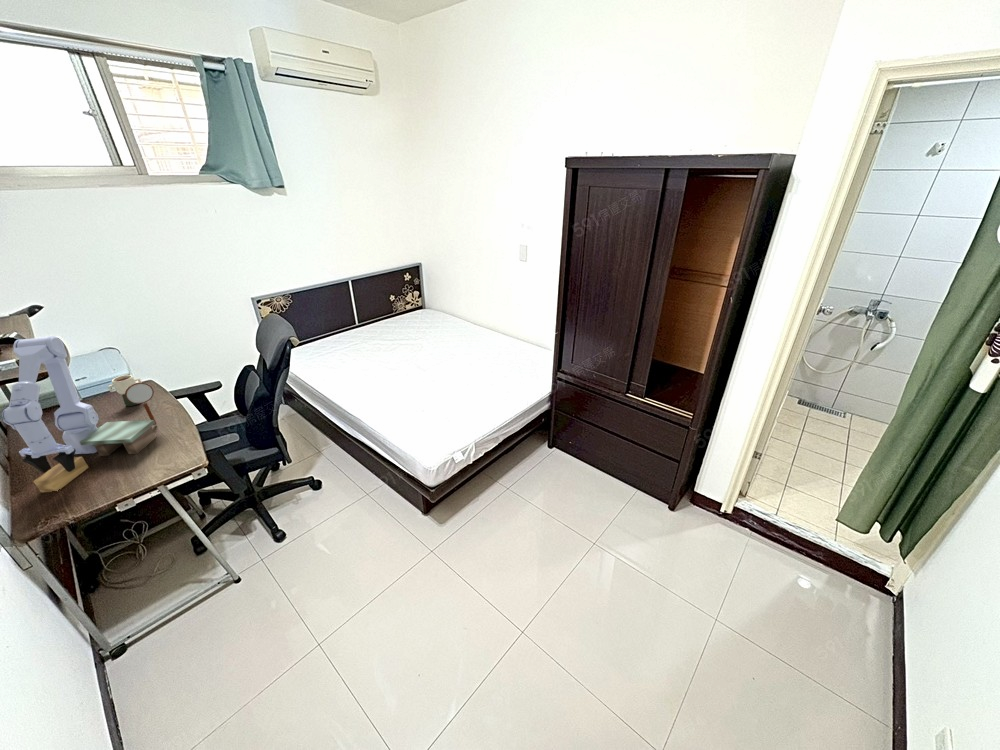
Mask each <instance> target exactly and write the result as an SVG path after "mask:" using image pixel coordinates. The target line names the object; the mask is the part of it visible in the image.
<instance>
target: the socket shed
mask: <svg viewBox="0 0 1000 750" xmlns="http://www.w3.org/2000/svg"><path fill="white" fill-rule="evenodd" d="M155 421H156V420H155ZM155 421H154V420H150V419H145V420H141V419H140V420H126V421H125V420H124V421H123V420H121V421H119V420H118V421H106V422H105V423H103V424H102V425H101V426H99V427H97V428H98V429H96V430H95V431H94V432H92V433H91V434H89V435H88V436H87V437H85V438H84V439H82V440H81V441H79V443H80V444H81V445H94V446H95V448H96V450H97V451H98V452H97V453H98V455H99V456H100V457H101V456H102V457H103V456H110V455H111V454H112V453H114V452H115V451H116V450H117V449H118V448H120V447H121V446H122V445H123V447H124V448H125V450H126V451H127V453H128V455H138V454H139V453H140V452H141V451H142V450H143V449H144V448H146V447H147V446H148V445H149V444H150V443H152V441H154V440H155V439H156V438H157V435H156V433H155V430H154V428H153V426H154V424H155Z"/></svg>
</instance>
